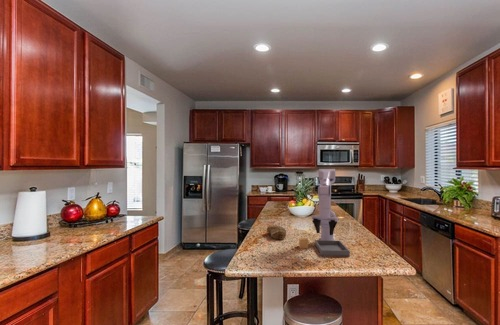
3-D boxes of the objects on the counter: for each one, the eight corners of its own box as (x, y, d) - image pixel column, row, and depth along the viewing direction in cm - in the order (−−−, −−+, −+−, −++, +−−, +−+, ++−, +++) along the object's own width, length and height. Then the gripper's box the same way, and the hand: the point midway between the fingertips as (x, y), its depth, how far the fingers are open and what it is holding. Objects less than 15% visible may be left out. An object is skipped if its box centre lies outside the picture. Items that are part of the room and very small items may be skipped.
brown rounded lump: (287, 242, 181) (286, 228, 200) (285, 230, 179) (284, 218, 199) (267, 245, 183) (268, 231, 202) (264, 233, 181) (266, 221, 201)
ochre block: (299, 245, 167) (299, 237, 167) (307, 246, 167) (307, 238, 167) (300, 248, 163) (299, 239, 163) (308, 248, 163) (308, 240, 163)
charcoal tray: (315, 245, 168) (315, 240, 168) (339, 245, 167) (339, 240, 167) (321, 256, 148) (321, 250, 148) (349, 256, 147) (349, 250, 147)
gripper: (308, 207, 156) (308, 233, 155) (333, 209, 147) (334, 236, 146) (315, 206, 162) (315, 231, 161) (340, 208, 152) (340, 235, 151)
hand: (324, 234), depth 153 cm, fingers open, 7 cm apart
